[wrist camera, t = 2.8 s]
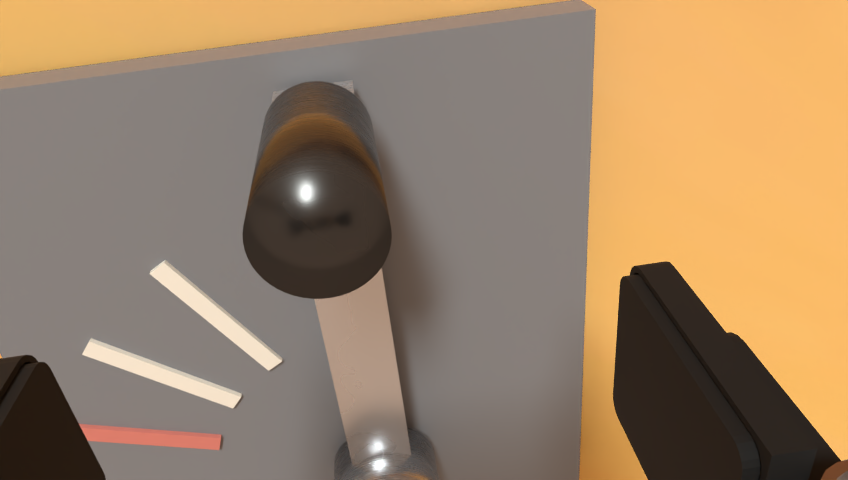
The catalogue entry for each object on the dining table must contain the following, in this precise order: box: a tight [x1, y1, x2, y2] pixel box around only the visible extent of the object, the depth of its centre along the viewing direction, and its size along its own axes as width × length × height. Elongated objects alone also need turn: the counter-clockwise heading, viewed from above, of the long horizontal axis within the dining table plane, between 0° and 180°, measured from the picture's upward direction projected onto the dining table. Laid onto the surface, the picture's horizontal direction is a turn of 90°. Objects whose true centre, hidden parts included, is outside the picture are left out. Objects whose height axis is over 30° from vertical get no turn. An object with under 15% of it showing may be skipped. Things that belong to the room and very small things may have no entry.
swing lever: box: [243, 80, 439, 480], centre depth 22 cm, size 20×4×8 cm, turn 6°
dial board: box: [0, 0, 596, 480], centre depth 27 cm, size 23×22×2 cm
